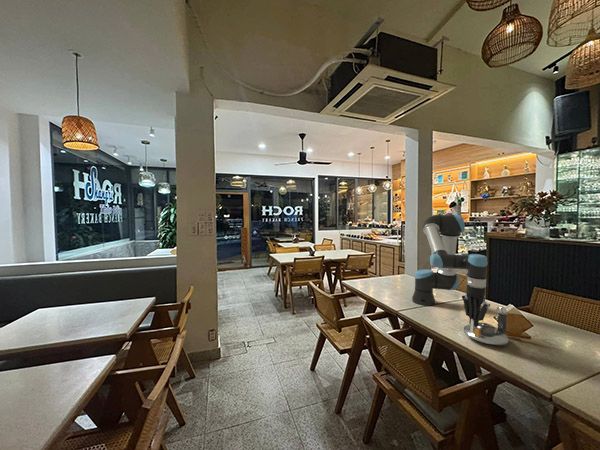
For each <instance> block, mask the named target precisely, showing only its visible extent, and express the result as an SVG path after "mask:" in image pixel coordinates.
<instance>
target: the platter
mask: <svg viewBox="0 0 600 450" xmlns="http://www.w3.org/2000/svg"><path fill="white" fill-rule="evenodd" d="M470 329H471V324H467V325H466V324H465V325H464V326H463V334H464V335H465V334H466V336H468V337H469V338H470V339H472V340H475V341H476V340H477V341H476V342H478V341H480V342H483V343H487V344H491V345H490V346H504V345H508V344H509V337H508V336H507V334H506V335H505V334H504V333H502V332H500V331H498V329H496V328H495V336H493V337H488V336H483V335H481V329H480V328H477V327H476V328H474V333H472V332H470ZM480 342H479V343H480ZM483 343H482V344H483ZM487 344H486V345H487Z"/></svg>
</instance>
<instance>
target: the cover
mask: <svg viewBox="0 0 600 450" xmlns="http://www.w3.org/2000/svg"><path fill="white" fill-rule="evenodd" d="M477 328H480V329H481V335H483V336H488V337H493V336H495V329H496V327H495V326H494V325H492V324H489V323H487V322H481V321H479V324H478V327H477Z"/></svg>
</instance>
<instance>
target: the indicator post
mask: <svg viewBox="0 0 600 450" xmlns="http://www.w3.org/2000/svg"><path fill="white" fill-rule="evenodd" d="M496 312H497V314H494V317H495V318H496V317H497V330H498V331H500V332H502V333H504V334H505V335H506V336H507V334H506V333H507V332H506V331H507V309H506V308H505V307H504V306H501V305H500V306H497V308H496Z"/></svg>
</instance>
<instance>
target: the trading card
mask: <svg viewBox="0 0 600 450" xmlns="http://www.w3.org/2000/svg"><path fill="white" fill-rule="evenodd" d="M450 320H453V318H450V319H449V318H448V319H446V321H450ZM455 320H456V321H458V322H461V323H462V324H464V325H465V326H466V325H468V324H466V323H465V322H463V321H461V320H459V319H457V318H455ZM440 322H442V323H444V324H445V325H448V326H450V327H451V328H453V329H455V330H456V331H458V332H460V333H462V334H464V335H466V334H465V333H464V331H461V330H460V329H457V328H456V327H453V326H452V325H450V324H448V323H447V322H445V321H444V319H441V320H440ZM466 336H467V335H466Z"/></svg>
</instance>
